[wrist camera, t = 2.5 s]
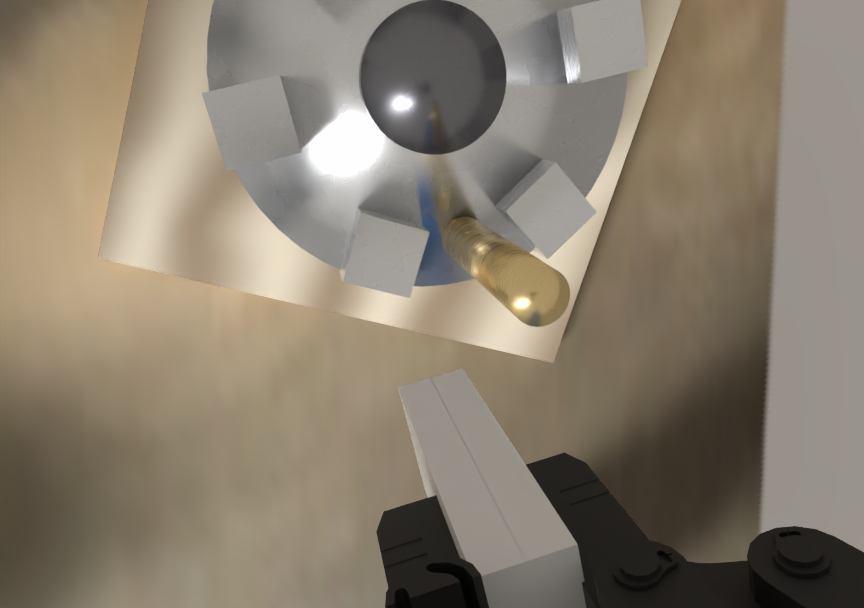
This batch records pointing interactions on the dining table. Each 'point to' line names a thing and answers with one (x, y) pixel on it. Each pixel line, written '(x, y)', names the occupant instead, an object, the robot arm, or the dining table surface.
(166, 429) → the dining table surface
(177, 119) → the birch base board
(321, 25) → the metal lathe chuck
